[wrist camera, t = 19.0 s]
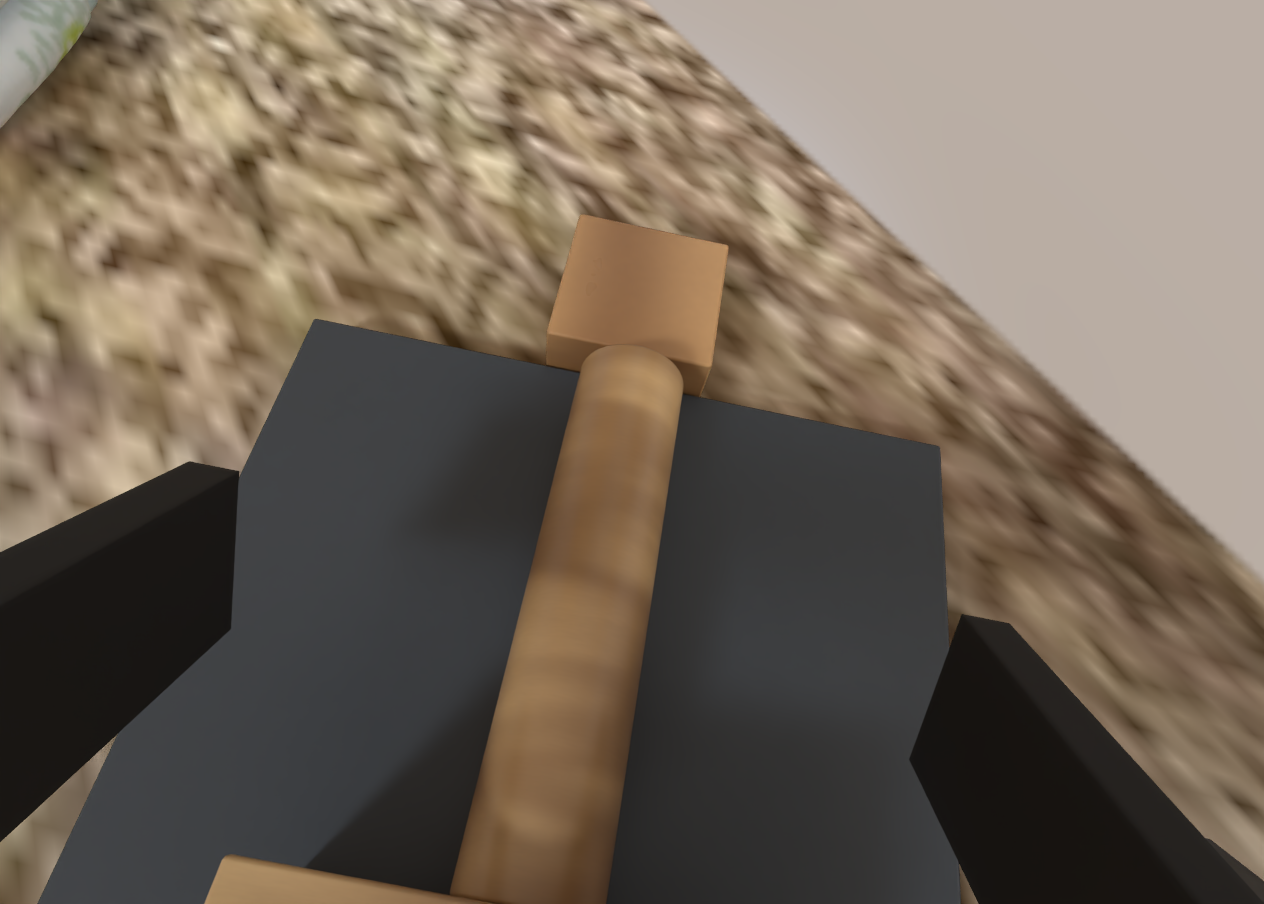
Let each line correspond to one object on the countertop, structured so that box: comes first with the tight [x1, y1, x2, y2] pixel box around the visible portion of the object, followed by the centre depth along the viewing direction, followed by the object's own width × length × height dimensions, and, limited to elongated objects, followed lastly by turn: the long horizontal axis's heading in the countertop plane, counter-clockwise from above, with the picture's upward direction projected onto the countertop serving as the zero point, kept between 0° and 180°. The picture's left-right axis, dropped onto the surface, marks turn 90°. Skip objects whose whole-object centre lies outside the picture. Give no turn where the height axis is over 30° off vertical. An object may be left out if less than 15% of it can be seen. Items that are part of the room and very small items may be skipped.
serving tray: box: [38, 319, 961, 904], centre depth 14 cm, size 16×20×1 cm
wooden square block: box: [546, 214, 729, 397], centre depth 20 cm, size 4×4×2 cm
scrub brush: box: [204, 344, 683, 904], centre depth 13 cm, size 8×4×14 cm
